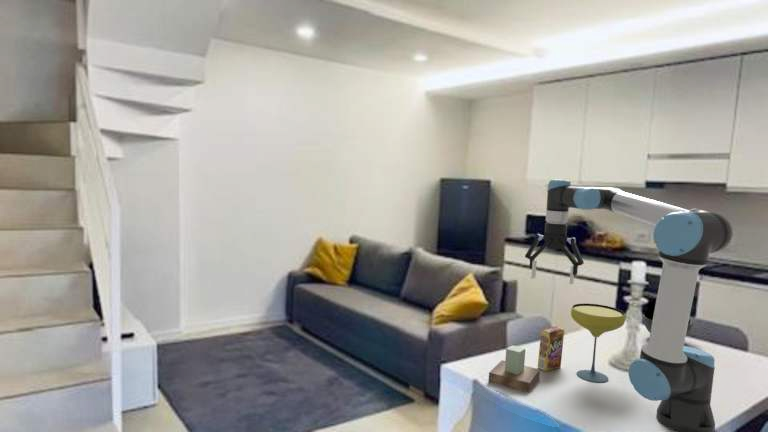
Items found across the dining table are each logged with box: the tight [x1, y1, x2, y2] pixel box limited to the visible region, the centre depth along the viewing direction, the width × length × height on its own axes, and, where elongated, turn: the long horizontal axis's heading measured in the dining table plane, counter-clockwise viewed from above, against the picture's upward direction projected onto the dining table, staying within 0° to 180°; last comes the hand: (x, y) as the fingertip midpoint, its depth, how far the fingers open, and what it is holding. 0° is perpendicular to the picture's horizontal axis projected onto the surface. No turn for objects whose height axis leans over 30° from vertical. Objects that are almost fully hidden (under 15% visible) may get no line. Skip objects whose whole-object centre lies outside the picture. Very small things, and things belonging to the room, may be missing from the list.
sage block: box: [504, 345, 526, 375], centre depth 177 cm, size 5×5×8 cm
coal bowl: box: [642, 298, 694, 337], centre depth 229 cm, size 20×20×19 cm
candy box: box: [537, 326, 565, 372], centre depth 190 cm, size 9×4×15 cm, turn 123°
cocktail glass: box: [570, 303, 626, 384], centre depth 183 cm, size 18×18×25 cm
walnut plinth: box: [488, 360, 541, 394], centre depth 177 cm, size 14×14×4 cm
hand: (552, 280), depth 182 cm, fingers open, 13 cm apart
